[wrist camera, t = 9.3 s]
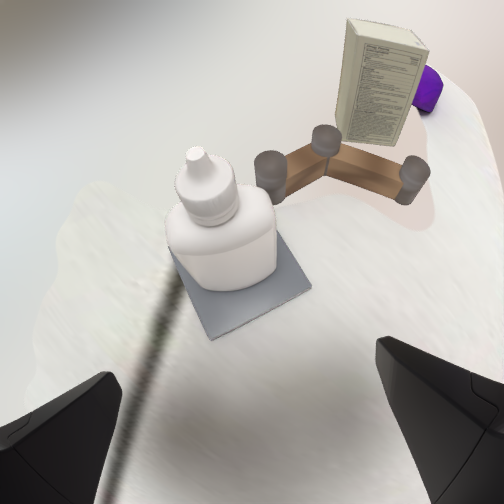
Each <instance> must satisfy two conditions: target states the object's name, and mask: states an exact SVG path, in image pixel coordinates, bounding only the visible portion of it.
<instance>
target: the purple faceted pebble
mask: <svg viewBox="0 0 504 504" xmlns="http://www.w3.org/2000/svg"><path fill="white" fill-rule="evenodd" d="M442 89H443V82H442V80H441V78H440V76H439V74H438V73H437V72H436V71H435V70H433V69H432V68H431V67H429V66H427V65H425V67H424V70H423V73H422V76H421V79H420V82H419V85H418V88H417V91H416V93H415V96H414V99H413V102H412V104H411V105H413V106H415V107H417V108H420V109H422V110H424V111H427V112H432V111H433V109H434V107H435V105H436V103H437V101H438V99H439V96H440V94H441V92H442Z"/></svg>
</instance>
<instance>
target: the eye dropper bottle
mask: <svg viewBox="0 0 504 504" xmlns="http://www.w3.org/2000/svg"><path fill="white" fill-rule="evenodd" d="M175 190H176V192H177V194H178V196H179V198H180V200H181V201H180V202H179V203H178V204H177V205H175V206H174V207H173V208H172V209H171V210H170V211H169V212H168V214H167V215H166V218H165V232H166V239H167V243H168V245H169V247H170V249H171V251H172V252H173V254H174V255H175V256H176V258H177V259H178V260H179V261H180V263H181V264H182V265H183V266H184V268H185V269H186V270H187V271H188V272H189V274H190V275H191V276H192V277H193V278H194V279H195V280H196V282H197V283H198V284H199V285H200V286H201V287H202V288H204V289H206V290H211V291H235V290H240V289H244V288H247V287H250V286H252V285H254V284H257V283H258V282H260V281H262V280H264V279H265V278H267V277H268V276H269V275H271V274H272V273H273V272H274V270H275V269H276V258H277V228H276V215H275V211H274V208H273V205H272V202H271V199H270V197H269V195H268V193H267V192H266V191H265V190H264V189H262V188H260V187H256V186H252V185H245V184H236V180H235V175H234V171H233V168H232V166H231V165H230V163H229V162H228V161H227V160H226V159H224V158H221V157H219V156H216V155H207V153H206V152H205V150H204V149H203V148H202V147H200V146H195V147H192V148H190V149H189V150H188V151H187V152H186V163H185V164H184V165H183V166H182V167H181V169H180V170H179V171H178V173H177V175H176V178H175Z"/></svg>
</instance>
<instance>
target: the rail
mask: <svg viewBox="0 0 504 504" xmlns="http://www.w3.org/2000/svg"><path fill="white" fill-rule="evenodd" d="M341 140H342V134H341V132H340V131H339V130H338V129H337V128H335V127H333V126H331V125H319V126H317V127H315V128H314V130H313V134H312V142H311V143H310V144H308V145H306V146H304V147H302V148H300V149H298V150H296V151H294V152H292V153H290V154H288V155H286V156H284V155H283V154H281V153H280V152H278V151H271V150H270V151H264V152H262V153H260V154H259V155H258V156H257V157H256V158H255V161H254V166H255V175H256V185H257V187H260V188H262V189H264V190H265V191H266V192H267V193H268V195H269V197H270V199H271V202H272V205H277V204H279V203H281V202H282V201H283V200H284V199H285V197H287V196H289V195H291V194H292V193H294V192H296V191H298V190H299V189H301V188H303V187H305V186H306V185H308V184H310V183H311V182H313V181H315V180H317V179H319V178H320V177H322V176H329V177H332V178H335V179H338V180H341V181H344V182H347V183H350V184H353V185H356V186H358V187H361V188H364V189H367V190H369V191H372V192H375V193H378V194H380V195H383V196H386V197H388V198H391V199H393V200H395V201H396V202H397V203H399V204H401V205H409V204H411V203H412V201H413V200H414V198H415V197H416V195H417V194H418V192H419V191H420V189H421V188H422V186H423V185H424V184H425V182H426V181H427V179H428V177H429V176H430V168H429V166H428V164H427V163H426V162H425V161H424V160H423V159H421V158H419V157H417V156H408V157H407V158H406V159H405V161H404V163H403V165H400V164H398V163H395V162H393V161H390V160H387V159H385V158H382V157H379V156H377V155H374V154H371V153H368V152H365V151H363V150H360V149H357V148H354V147H351V146H348V145H345V144H342V143H341Z"/></svg>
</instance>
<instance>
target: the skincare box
mask: <svg viewBox="0 0 504 504" xmlns="http://www.w3.org/2000/svg"><path fill="white" fill-rule="evenodd" d="M428 54H429V49H428V48H427V47H426V46H425V45H424V44H423V42H422V41H421V40H420V39H419V38H418V37H417V36H416V35H415V34H414V33H413V32H412V31H411V30H409V29H405V28H401V27H397V26H392V25H388V24H383V23H378V22H372V21H367V20H360V19H354V18H347V24H346V35H345V44H344V53H343V61H342V69H341V77H340V84H339V91H338V98H337V105H336V111H335V118H336V125H337V129H338V130H339V131H340V132H341V134H342V140H341V141H346V142H356V143H366V144H375V145H384V146H395V145H396V142H397V140H398V138H399V135H400V133H401V130H402V128H403V125H404V122H405V120H406V117H407V115H408V112H409V110H410V107H411V104H412V102H413V99H414V96H415V93H416V91H417V88H418V85H419V82H420V79H421V76H422V73H423V70H424V67H425V64H426V61H427V58H428Z"/></svg>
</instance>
